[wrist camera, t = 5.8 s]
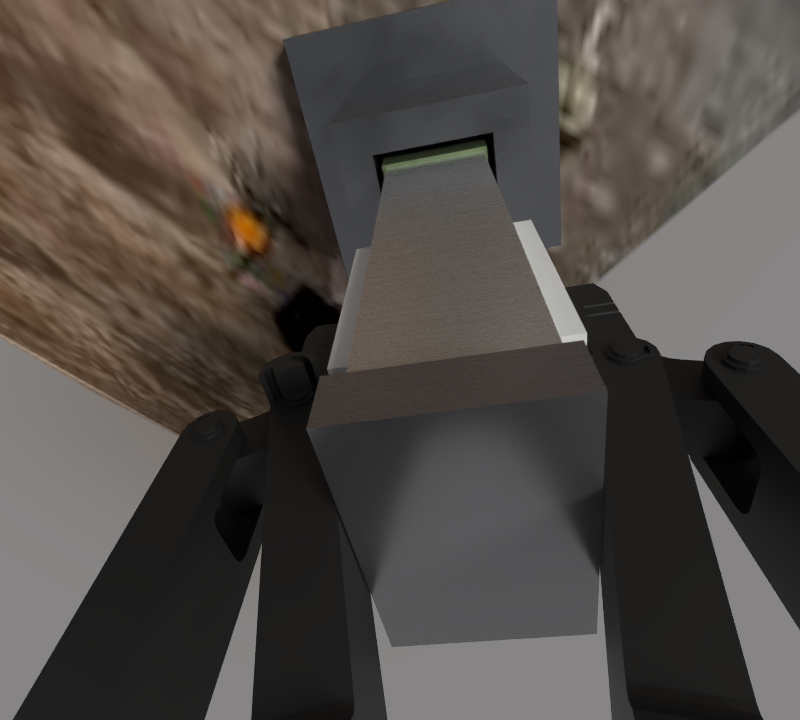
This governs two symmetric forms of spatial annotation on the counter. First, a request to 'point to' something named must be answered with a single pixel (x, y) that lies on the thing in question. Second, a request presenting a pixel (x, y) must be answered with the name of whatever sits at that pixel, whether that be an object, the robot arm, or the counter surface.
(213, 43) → the counter surface
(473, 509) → the grey rectangular bar
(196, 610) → the robot arm
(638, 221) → the counter surface
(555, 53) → the stand base
